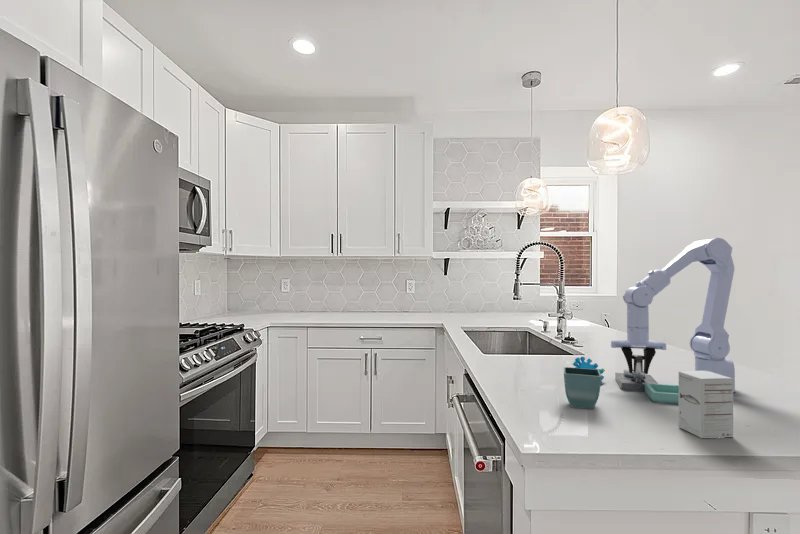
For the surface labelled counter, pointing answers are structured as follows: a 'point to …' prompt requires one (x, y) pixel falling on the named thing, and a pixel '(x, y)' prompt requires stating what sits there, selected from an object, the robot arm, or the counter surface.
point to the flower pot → (582, 386)
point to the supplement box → (706, 404)
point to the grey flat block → (632, 381)
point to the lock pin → (638, 367)
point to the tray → (662, 393)
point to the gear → (587, 365)
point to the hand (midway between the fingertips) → (638, 372)
